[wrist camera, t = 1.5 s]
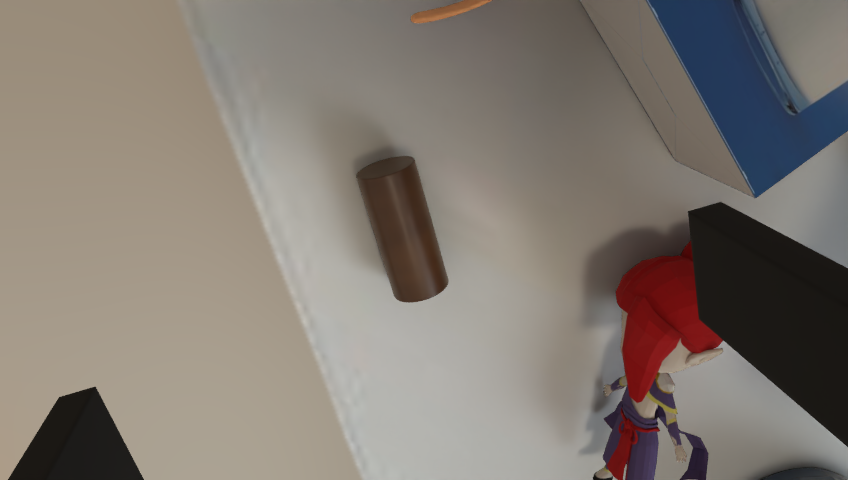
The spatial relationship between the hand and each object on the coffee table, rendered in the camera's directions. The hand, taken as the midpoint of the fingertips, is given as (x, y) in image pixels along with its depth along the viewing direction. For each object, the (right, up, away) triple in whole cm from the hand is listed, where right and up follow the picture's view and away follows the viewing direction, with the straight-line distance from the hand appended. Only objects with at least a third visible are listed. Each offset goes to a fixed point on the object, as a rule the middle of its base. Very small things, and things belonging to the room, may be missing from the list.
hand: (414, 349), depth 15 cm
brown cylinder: (-1, +3, +16) cm, 17 cm away
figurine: (+12, -3, +21) cm, 25 cm away
